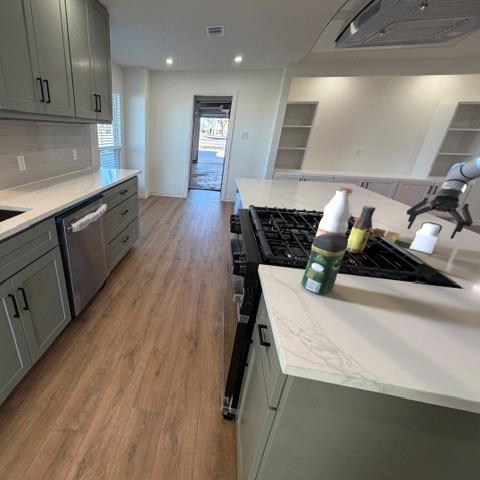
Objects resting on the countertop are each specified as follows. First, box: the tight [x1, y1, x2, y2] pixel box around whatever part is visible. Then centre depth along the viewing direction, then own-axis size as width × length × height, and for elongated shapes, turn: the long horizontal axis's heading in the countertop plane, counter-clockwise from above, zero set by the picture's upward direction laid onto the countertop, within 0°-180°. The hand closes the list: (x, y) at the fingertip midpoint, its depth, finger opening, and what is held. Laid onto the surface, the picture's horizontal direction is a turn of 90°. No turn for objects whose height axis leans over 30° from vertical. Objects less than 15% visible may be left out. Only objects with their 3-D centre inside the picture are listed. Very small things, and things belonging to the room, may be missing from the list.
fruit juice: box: [315, 186, 354, 237], centre depth 99 cm, size 9×9×28 cm
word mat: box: [367, 235, 432, 256], centre depth 118 cm, size 22×10×1 cm, turn 39°
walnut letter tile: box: [370, 227, 387, 239], centre depth 123 cm, size 4×4×4 cm
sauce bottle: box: [346, 205, 376, 254], centre depth 106 cm, size 7×6×20 cm
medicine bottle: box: [410, 221, 443, 254], centre depth 110 cm, size 7×7×12 cm
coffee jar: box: [300, 232, 348, 295], centre depth 79 cm, size 10×8×19 cm
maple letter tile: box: [384, 230, 400, 243], centre depth 120 cm, size 4×4×4 cm
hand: (429, 232), depth 110 cm, fingers open, 13 cm apart
